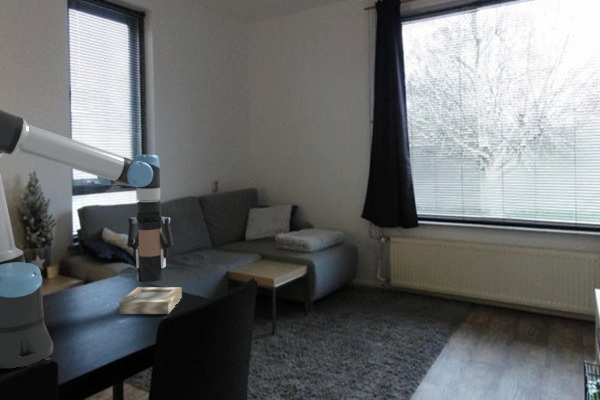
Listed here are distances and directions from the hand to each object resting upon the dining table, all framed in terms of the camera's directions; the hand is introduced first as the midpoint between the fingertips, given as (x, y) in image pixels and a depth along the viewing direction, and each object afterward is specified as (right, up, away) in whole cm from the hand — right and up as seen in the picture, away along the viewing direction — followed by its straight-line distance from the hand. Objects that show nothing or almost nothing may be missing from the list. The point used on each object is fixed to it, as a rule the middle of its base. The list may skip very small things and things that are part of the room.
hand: (151, 267), depth 151 cm
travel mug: (0, -4, 0) cm, 4 cm away
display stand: (0, -13, +1) cm, 13 cm away
